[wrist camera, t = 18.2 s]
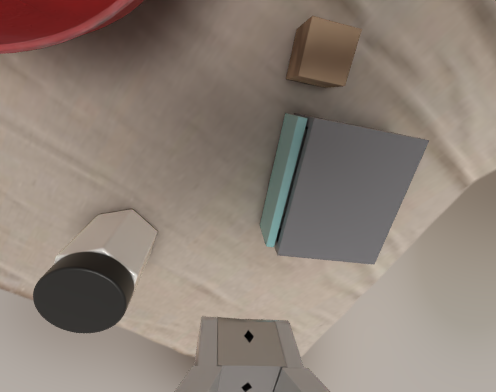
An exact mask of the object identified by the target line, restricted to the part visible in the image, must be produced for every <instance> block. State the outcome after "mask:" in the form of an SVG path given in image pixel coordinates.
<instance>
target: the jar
mask: <svg viewBox="0 0 496 392" xmlns="http://www.w3.org/2000/svg"><path fill="white" fill-rule="evenodd" d="M156 235H157V230H155V229H154V228H153V227H152V226H151V225H150V224H149V223H148V222H146V221H145V220H144V219H143V218H142V217H141V216H140V215H139V214H138V213H136V212H135V211H134V210H133V209H130V210H124V211H118V212H111V213H105V214H99V215H97V216H96V217H95V218H94V219H93V220H92V221H91V222H90V223H89V224H88V225H87V226H86V227H85V228H84V229H83V230H82V231H81V232H80V233H79V234H78V235H77V236H76V237H75V238H74V239H73V240H72V241H71V242H70V243H69V244H68V245H67V246H66V247H65V248H64V249H63V250H62V251H61V252H60V253H59V254H58V255H57V256H56V258H55V263H54V265H53V266H52V267H51V268H50V269H49V270H48V271H47V272H46V273H45V274H44V276H43V277H42V278H41V279H40V280H39V281H38V282H37V284H36V286H35V288H34V292H33V300H34V304H35V307H36V308H37V310H38V312H39V313H40V314H41V316H42V317H43V318H45V319H46V320H47V321H48V322H50V323H51V324H53V325H55V326H56V327H59V328H61V329H63V330H67V331H71V332H76V333H95V332H100V331H103V330H106V329H108V328H110V327H112V326H114V325H115V324H116V323H118V322H119V321H120V320H121V318H122V317H123V315H124V314H125V311H126V309H127V307H128V305H129V303H130V301H131V299H132V296H133V294H134V292H135V289H136V287H137V285H138V282H139V280H140V278H141V275H142V273H143V271H144V269H145V266H146V264H147V262H148V259H149V257H150V254H151V251H152V248H153V245H154V242H155V239H156Z"/></svg>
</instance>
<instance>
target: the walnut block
mask: <svg viewBox="0 0 496 392" xmlns="http://www.w3.org/2000/svg"><path fill="white" fill-rule="evenodd" d="M361 30H362V29H359V28H355V27H351V26H348V25H344V24H340V23H337V22H333V21H329V20H326V19H322V18H318V17H315V16H312V17H311V18H309V19H308V20H307V21H306V22H305V23H304V24H302V25H301V26H300V27H299V28H298V29H297V30H296V35H295V39H294V44H293V48H292V53H291V57H290V62H289V67H288V71H287V76H286V79H288V80H293V81H297V82H302V83H306V84H311V85H315V86H320V87H325V88H328V87H341V86H345V84H346V81H347V77H348V74H349V71H350V67H351V64H352V61H353V57H354V54H355V51H356V47H357V44H358V41H359V37H360V34H361Z"/></svg>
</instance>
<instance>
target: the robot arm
mask: <svg viewBox="0 0 496 392" xmlns="http://www.w3.org/2000/svg"><path fill="white" fill-rule="evenodd" d="M174 392H330V391H329V390H328V389H327V388H326V386H325V385H324V384H323V383H322V382H321V381H320V380H319V379H318V378H317V377H316V376H315V375H314V374H313V373H312V371H311V370H310V369H309V368H304V367H303V364H302V360H301V357H300V354H299V351H298V348H297V344H296V341H295V338H294V335H293V332H292V329H291V326H290V323H289V322H288V321H283V320H263V319H235V318H222V317H206V316H202V317H201V323H200V329H199V335H198V342H197V349H196V356H195V366H192V368H191V369H190V370H189V372H188V373H187V375H186V376H185V377H184V379H183V380H182V382H181V383H180V384H179V386H178V387H177V389H176V390H175V391H174Z"/></svg>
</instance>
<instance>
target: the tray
mask: <svg viewBox="0 0 496 392" xmlns="http://www.w3.org/2000/svg"><path fill="white" fill-rule="evenodd" d="M307 119H308V118H304V117H300V116H296V115H292V114H287V113H285V117H284V121H283V126H282V130H281V134H280V139H279V143H278V148H277V152H276V156H275V161H274V165H273V169H272V174H271V178H270V183H269V187H268V191H267V196H266V200H265V204H264V209H263V213H262V218H261V222H260V228H261V231H262V234H263V237H264V241H265V244H266V246H268V247H274V245H275V241H276V238H277V234H278V230H279V228H282V225H283V221H284V218H285V214H286V210H287V206H288V202H289V199H290V195H291V191H292V187H293V184H294V180H295V176H296V172H297V169H298V165H299V161H300V157H301V153H302V150H303V146H304V142H305V138H306V135H307V131H308V129H305V127H306V123H307Z"/></svg>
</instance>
